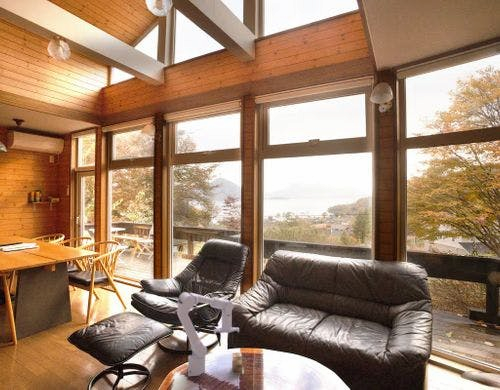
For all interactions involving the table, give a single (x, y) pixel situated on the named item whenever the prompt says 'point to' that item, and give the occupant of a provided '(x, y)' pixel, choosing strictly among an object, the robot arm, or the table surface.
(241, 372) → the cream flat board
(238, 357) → the maple cube
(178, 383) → the table surface
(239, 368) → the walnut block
